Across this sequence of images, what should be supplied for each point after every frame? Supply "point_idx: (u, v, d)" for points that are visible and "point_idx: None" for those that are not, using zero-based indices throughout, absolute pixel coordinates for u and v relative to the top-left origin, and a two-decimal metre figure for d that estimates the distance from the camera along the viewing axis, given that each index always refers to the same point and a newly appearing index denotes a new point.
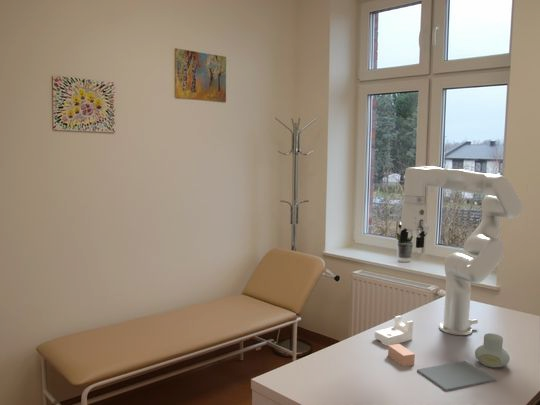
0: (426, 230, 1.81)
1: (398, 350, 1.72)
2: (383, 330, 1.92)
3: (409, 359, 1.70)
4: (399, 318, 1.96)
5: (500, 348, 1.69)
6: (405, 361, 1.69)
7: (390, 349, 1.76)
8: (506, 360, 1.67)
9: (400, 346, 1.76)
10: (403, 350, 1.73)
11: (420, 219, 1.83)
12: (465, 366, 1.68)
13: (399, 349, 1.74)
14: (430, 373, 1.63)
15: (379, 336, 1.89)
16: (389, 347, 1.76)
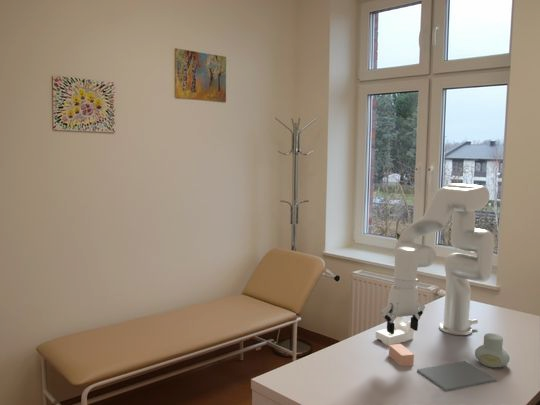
0: None
1: (398, 350, 1.73)
2: (384, 330, 1.92)
3: (408, 359, 1.69)
4: (400, 318, 1.96)
5: (500, 348, 1.69)
6: (404, 361, 1.69)
7: (390, 349, 1.76)
8: (506, 360, 1.67)
9: (401, 346, 1.76)
10: (403, 350, 1.73)
11: None
12: (465, 366, 1.68)
13: (399, 348, 1.74)
14: (430, 373, 1.63)
15: (380, 335, 1.89)
16: (390, 346, 1.77)
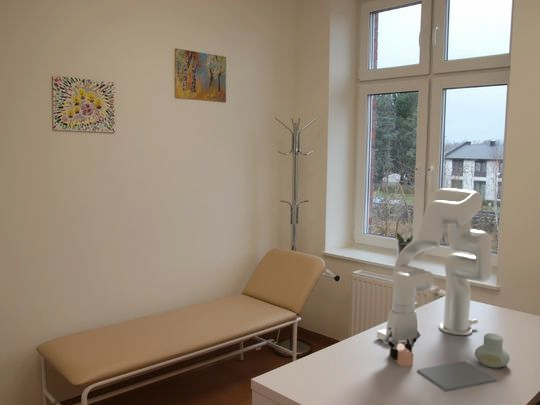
0: None
1: None
2: (385, 330, 1.92)
3: (407, 359, 1.69)
4: None
5: (500, 348, 1.69)
6: (403, 361, 1.69)
7: None
8: (506, 360, 1.67)
9: (401, 346, 1.76)
10: (403, 350, 1.72)
11: None
12: (465, 366, 1.68)
13: (399, 348, 1.74)
14: (430, 373, 1.63)
15: (381, 335, 1.89)
16: None
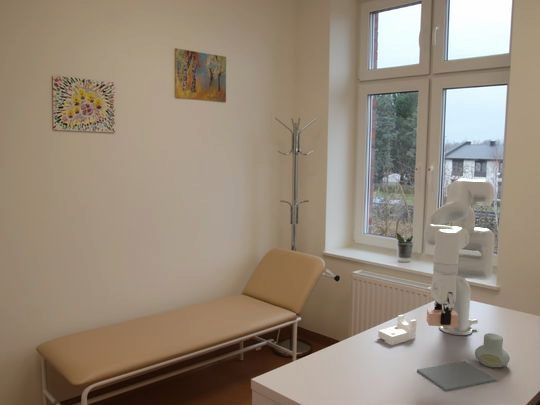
0: None
1: None
2: (386, 329, 1.93)
3: None
4: (402, 317, 1.97)
5: (500, 348, 1.69)
6: None
7: (433, 317, 1.62)
8: (506, 360, 1.67)
9: (434, 310, 1.65)
10: None
11: None
12: (465, 366, 1.68)
13: (440, 312, 1.63)
14: (430, 373, 1.63)
15: (383, 335, 1.90)
16: (431, 314, 1.62)
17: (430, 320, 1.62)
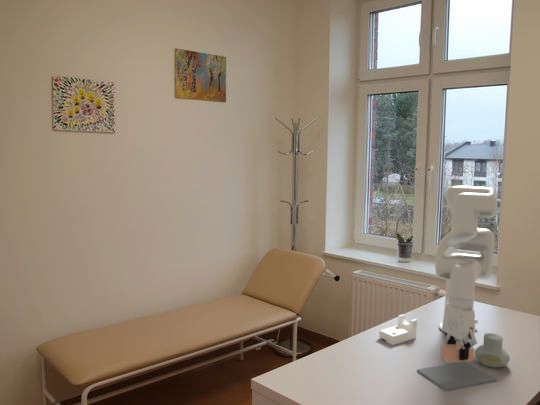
0: None
1: None
2: (387, 329, 1.93)
3: None
4: (403, 317, 1.97)
5: (500, 348, 1.69)
6: None
7: (452, 353, 1.59)
8: (506, 360, 1.67)
9: (449, 345, 1.62)
10: (460, 346, 1.62)
11: None
12: (465, 366, 1.68)
13: (456, 347, 1.61)
14: (430, 373, 1.63)
15: (384, 335, 1.90)
16: (451, 351, 1.59)
17: (449, 357, 1.59)
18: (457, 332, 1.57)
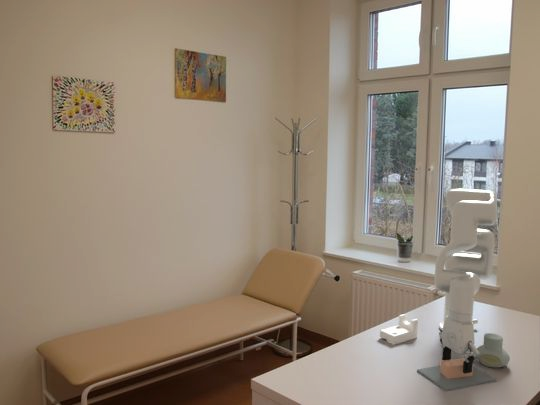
0: None
1: (461, 364, 1.61)
2: (388, 329, 1.93)
3: None
4: (403, 317, 1.97)
5: (500, 348, 1.69)
6: None
7: (451, 369, 1.59)
8: (506, 360, 1.67)
9: (448, 361, 1.63)
10: (459, 361, 1.63)
11: None
12: None
13: (455, 363, 1.62)
14: (430, 373, 1.63)
15: (385, 334, 1.90)
16: (450, 367, 1.59)
17: (449, 373, 1.59)
18: (456, 346, 1.58)
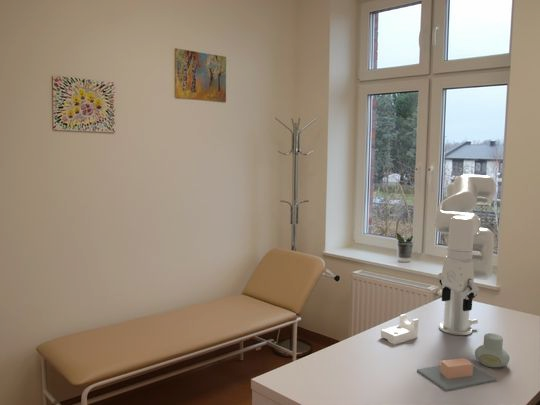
0: None
1: (461, 364, 1.61)
2: (389, 329, 1.93)
3: None
4: (404, 316, 1.98)
5: (500, 348, 1.69)
6: None
7: (451, 369, 1.59)
8: (506, 360, 1.67)
9: (448, 361, 1.63)
10: (459, 361, 1.63)
11: None
12: None
13: (455, 363, 1.62)
14: (430, 373, 1.63)
15: (386, 334, 1.90)
16: (450, 367, 1.59)
17: (449, 373, 1.59)
18: (456, 284, 1.59)
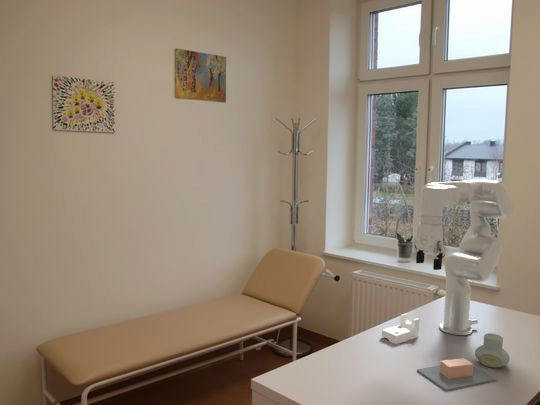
0: None
1: (461, 364, 1.61)
2: (389, 328, 1.94)
3: None
4: (405, 316, 1.98)
5: (500, 348, 1.69)
6: None
7: (451, 369, 1.59)
8: (506, 360, 1.67)
9: (448, 361, 1.63)
10: (459, 361, 1.63)
11: None
12: None
13: (455, 363, 1.62)
14: (430, 373, 1.63)
15: (387, 334, 1.91)
16: (450, 367, 1.59)
17: (449, 373, 1.59)
18: (427, 246, 1.79)
